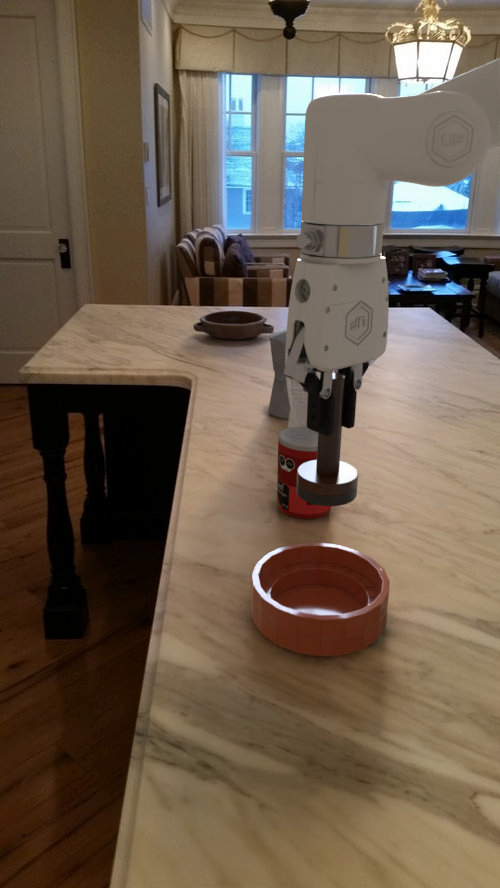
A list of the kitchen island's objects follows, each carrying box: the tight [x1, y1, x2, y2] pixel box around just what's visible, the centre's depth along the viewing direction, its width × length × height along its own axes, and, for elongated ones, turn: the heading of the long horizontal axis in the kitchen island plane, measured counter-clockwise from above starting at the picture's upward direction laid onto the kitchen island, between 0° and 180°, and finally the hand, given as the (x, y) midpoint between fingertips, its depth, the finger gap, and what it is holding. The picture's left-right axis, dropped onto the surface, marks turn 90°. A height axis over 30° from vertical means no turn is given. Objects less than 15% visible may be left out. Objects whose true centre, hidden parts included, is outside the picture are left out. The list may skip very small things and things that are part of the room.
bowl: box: [250, 541, 391, 657], centre depth 76 cm, size 15×15×5 cm
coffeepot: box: [268, 328, 290, 420], centre depth 133 cm, size 15×9×18 cm, turn 19°
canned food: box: [276, 426, 333, 520], centre depth 99 cm, size 8×8×11 cm
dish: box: [193, 310, 275, 341], centre depth 193 cm, size 18×22×5 cm
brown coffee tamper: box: [296, 372, 359, 507], centre depth 73 cm, size 6×6×13 cm
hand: (330, 426), depth 72 cm, fingers closed on brown coffee tamper, 2 cm apart
